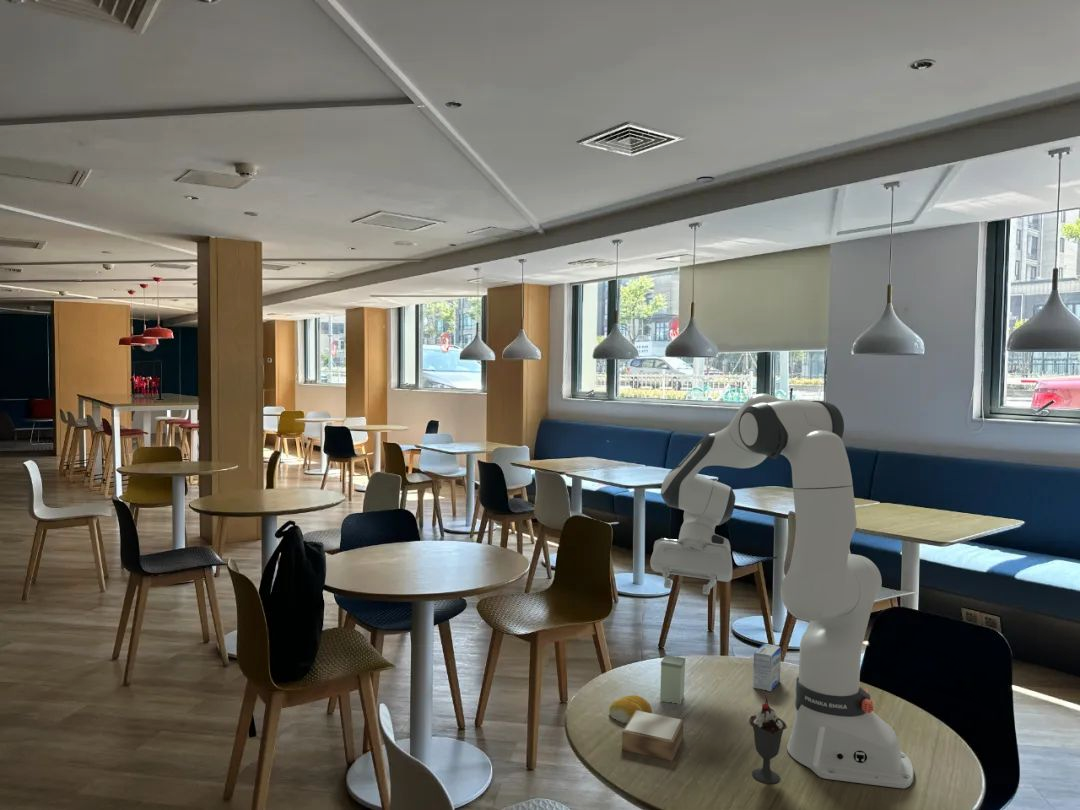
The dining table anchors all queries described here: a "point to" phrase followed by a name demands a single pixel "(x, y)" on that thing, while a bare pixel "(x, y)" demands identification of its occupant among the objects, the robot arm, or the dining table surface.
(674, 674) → the green pillar block
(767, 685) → the medicine box
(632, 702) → the bread roll
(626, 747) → the wooden square block
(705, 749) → the dining table surface
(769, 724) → the sundae
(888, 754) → the robot arm
